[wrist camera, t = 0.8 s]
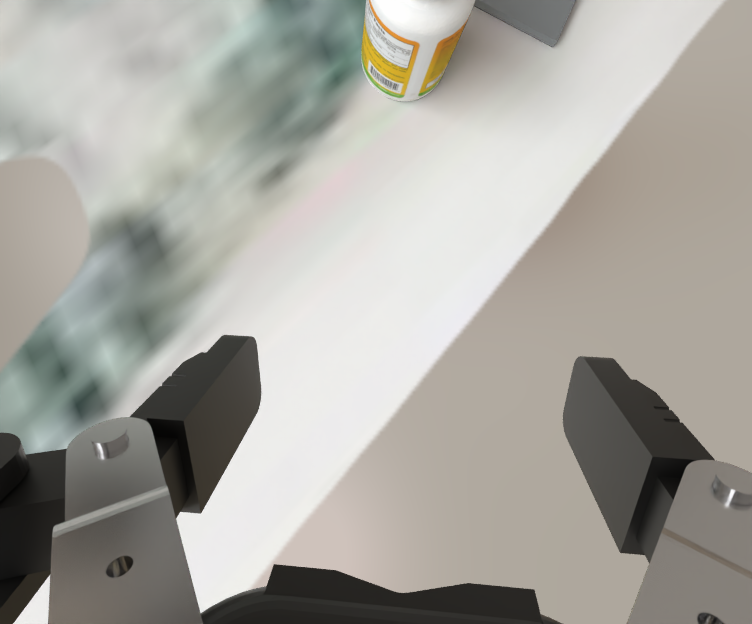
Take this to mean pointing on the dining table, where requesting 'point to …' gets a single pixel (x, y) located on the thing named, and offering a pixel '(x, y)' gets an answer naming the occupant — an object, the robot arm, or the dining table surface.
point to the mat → (531, 16)
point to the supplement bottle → (410, 44)
